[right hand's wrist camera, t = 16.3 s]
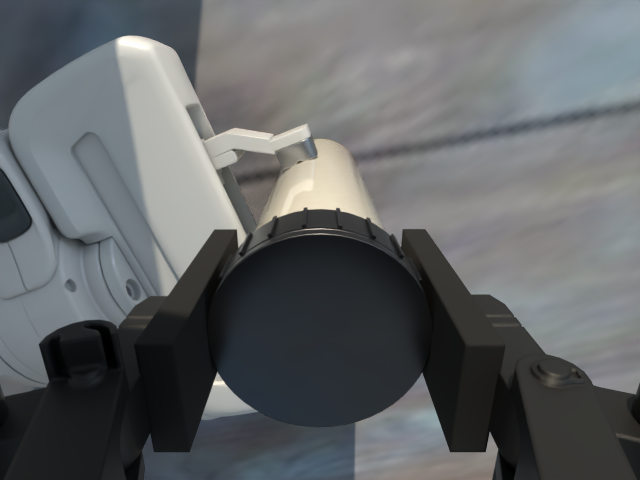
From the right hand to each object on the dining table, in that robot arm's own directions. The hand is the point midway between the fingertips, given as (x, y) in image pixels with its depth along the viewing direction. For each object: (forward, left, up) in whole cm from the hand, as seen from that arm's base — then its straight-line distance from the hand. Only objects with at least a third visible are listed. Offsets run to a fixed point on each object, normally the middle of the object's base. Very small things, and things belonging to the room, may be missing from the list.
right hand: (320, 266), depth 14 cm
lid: (0, 0, +4) cm, 4 cm away
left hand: (0, -1, -7) cm, 7 cm away
